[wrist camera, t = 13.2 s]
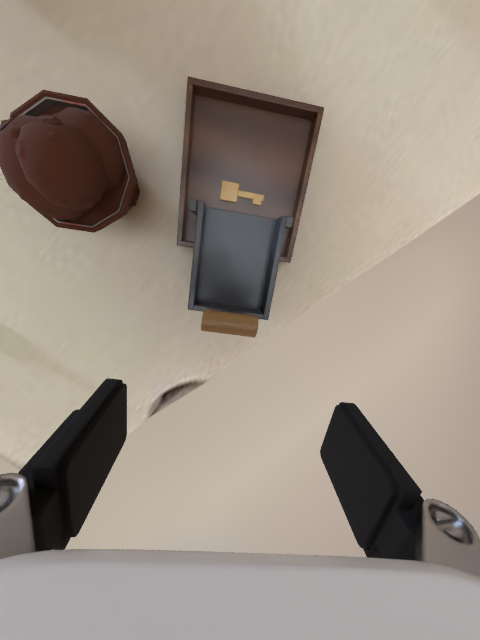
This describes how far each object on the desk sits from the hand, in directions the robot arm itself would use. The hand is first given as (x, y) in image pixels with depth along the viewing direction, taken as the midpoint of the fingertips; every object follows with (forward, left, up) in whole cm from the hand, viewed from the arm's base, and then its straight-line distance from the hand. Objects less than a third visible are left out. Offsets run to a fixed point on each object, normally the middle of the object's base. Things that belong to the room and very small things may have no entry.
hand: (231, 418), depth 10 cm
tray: (-14, 0, -26) cm, 30 cm away
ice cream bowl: (-11, -16, -26) cm, 33 cm away
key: (-13, 0, -25) cm, 28 cm away
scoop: (-4, 0, -20) cm, 20 cm away
